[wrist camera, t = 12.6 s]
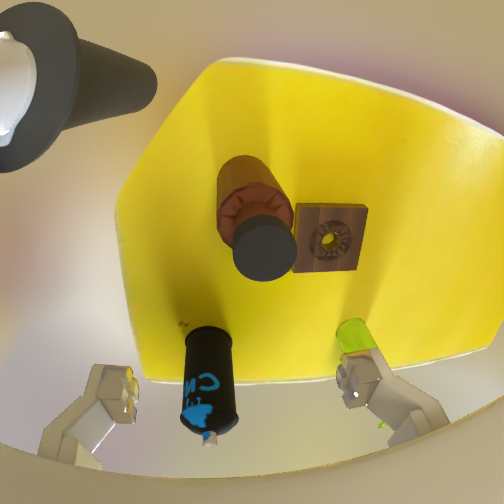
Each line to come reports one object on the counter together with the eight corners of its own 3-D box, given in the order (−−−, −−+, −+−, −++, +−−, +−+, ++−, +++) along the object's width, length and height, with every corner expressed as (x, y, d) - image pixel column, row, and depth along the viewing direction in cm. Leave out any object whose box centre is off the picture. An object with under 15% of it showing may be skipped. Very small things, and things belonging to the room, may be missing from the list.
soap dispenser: (333, 347, 55) (367, 434, 37) (338, 320, 52) (379, 412, 34) (360, 342, 55) (399, 424, 38) (367, 316, 52) (414, 401, 34)
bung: (231, 256, 26) (233, 283, 22) (230, 205, 24) (232, 225, 20) (284, 254, 26) (294, 280, 23) (288, 204, 24) (300, 224, 21)
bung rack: (290, 266, 45) (293, 273, 43) (296, 202, 40) (299, 207, 39) (352, 264, 46) (356, 270, 44) (363, 204, 41) (368, 208, 40)
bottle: (218, 206, 39) (218, 280, 24) (217, 155, 36) (214, 200, 21) (269, 205, 40) (300, 277, 25) (271, 155, 37) (308, 199, 22)
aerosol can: (241, 345, 52) (253, 446, 34) (206, 363, 54) (207, 460, 36) (212, 318, 48) (213, 427, 31) (175, 339, 50) (165, 442, 32)
